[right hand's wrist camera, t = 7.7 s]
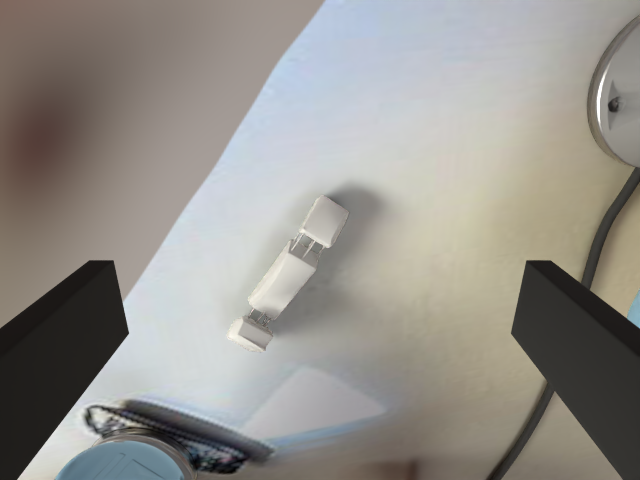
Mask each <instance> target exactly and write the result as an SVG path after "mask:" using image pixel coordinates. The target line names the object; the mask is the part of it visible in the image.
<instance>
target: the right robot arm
mask: <svg viewBox="0 0 640 480" xmlns="http://www.w3.org/2000/svg"><path fill="white" fill-rule="evenodd" d="M587 115H588V122H589V126H590V130H591V132H592V135H593V137H594V139H595V141H596V142H597V144H598V145H599V147H600V148H601V149H602V150H603V151H604V152H605V153H606V154H607V155H608V156H610V157H611V158H613V159H614V160H616V161H618V162H620V163H623V164H625V165H629V166H633V167H636V168H635V169H634V171H633V172H632V174H631V176H630V177H629V179H628V181H627V182H626V184H625V185H624V187H623V189H622V190H621V192H620V193H619V195H618V196H617V198H616V199H615V201H614V202H613V203H612V205H611V206H610V208H609V209H608V211H607V212H606V214H605V216H604V218H603V220H602V222H601V224H600V226H599V228H598V231H597V233H596V236H595V238H594V241H593V244H592V247H591V250H590V254H589V257H588V261H587V264H586V268H585V272H584V275H583V279H582V282H581V283H580V282H578V281H577V280H576V279H574V278H573V277H572V276H570V275H569V274H568V273H566V272H565V271H564V270H562V269H561V268H560V267H559V266H557V265H556V264H555V263H553V262H552V261H551V260H527V261H526V265H525V270H524V275H523V279H522V284H521V289H520V293H519V298H518V303H517V308H516V312H515V317H514V322H513V326H512V331H511V334H512V335H513V337H514V338H515V339H516V341H517V342H518V343H519V345H520V346H521V347H522V349H523V350H524V351H525V352H526V354H527V355H528V356H529V358H530V359H531V360H532V362H533V363H534V364H535V365H536V367H537V368H538V369H539V371H540V372H541V373H542V375H543V376H544V377H545V379H546V380H547V381H548V384H547V387H546V389H545V391H544V393H543V395H542V397H541V400H540V402H539V404H538V406H537V408H536V410H535V412H534V414H533V415H532V417H531V419H530V421H529V423H528V424H527V426H526V428H525V430H524V431H523V433H522V435H521V436H520V438H519V440H518V441H517V443H516V444H515V446H514V447H513V449H512V451H511V452H510V454H509V455H508V456H507V458H506V459H505V461H504V462H503V464H502V465H501V466H500V468H499V469H498V470H497V472H496V473H495V474H494V476H493V477H492V479H491V480H501V479H502V477H503V476H504V475H505V473H506V472H507V471H508V469H509V468H510V466H511V465H512V464H513V462H514V461H515V459H516V458H517V457H518V455H519V454H520V452H521V451H522V449H523V447H524V446H525V444H526V443H527V441H528V439H529V438H530V436H531V435H532V433H533V431H534V430H535V428H536V426H537V424H538V423H539V421H540V419H541V417H542V415H543V413H544V411H545V409H546V407H547V405H548V403H549V401H550V399H551V397H552V395H553V393H554V391H555V392H556V393H557V394H558V395H559V397H560V398H561V399H562V401H563V402H564V403H565V405H566V406H567V407H568V408H569V410H570V411H571V412H572V414H573V415H574V416H575V418H576V419H577V420H578V422H579V423H580V424H581V425H582V427H583V428H584V429H585V431H586V432H587V433H588V435H589V436H590V437H591V438H592V440H593V441H594V442H595V444H596V445H597V446H598V448H599V449H600V450H601V452H602V453H603V454H604V455H605V457H606V458H607V459H608V461H609V462H610V463H611V465H612V466H613V467H614V468H615V470H616V471H617V472H618V474H619V475H620V476H621V478H622V479H623V480H640V289H639V291H638V293H637V295H636V297H635V299H634V301H633V303H632V305H631V307H630V309H629V311H628V316H627V318H625V317H624V316H623V315H621V314H620V313H619V312H618V311H616V310H615V309H614V308H612V307H611V306H610V305H608V304H607V303H606V302H604V301H603V300H602V299H600V298H599V297H598V296H597V295H595V294H594V293H593V292H591V291H590V287H591V284H592V281H593V277H594V274H595V271H596V267H597V264H598V260H599V257H600V253H601V250H602V247H603V244H604V242H605V239H606V237H607V234H608V232H609V230H610V227H611V225H612V223H613V221H614V219H615V218H616V216H617V215H618V213H619V212H620V210H621V209H622V207H623V206H624V205H625V203H626V202H627V200H628V199H629V198H630V196H631V195H632V193H633V191H634V190H635V188H636V187H637V185H638V184H639V182H640V15H639V16H637V17H636V18H635V19H633V20H632V21H631V22H630V23H629V24H628V25H627V26H626V27H625V28H624V29H623V30H622V31H620V33H619V34H618V35H617V36H616V37H615V38H614V40H613V41H612V42H611V44H610V45H609V46H608V48H607V49H606V51H605V52H604V54H603V56H602V57H601V59H600V61H599V63H598V65H597V67H596V70H595V72H594V75H593V77H592V80H591V84H590V88H589V93H588V101H587ZM128 334H129V331H128V326H127V322H126V317H125V312H124V308H123V303H122V298H121V293H120V289H119V284H118V280H117V275H116V270H115V265H114V261H113V260H90V261H88V262H87V263H85V264H84V265H83V266H82V267H80V268H79V269H78V270H76V271H75V272H74V273H72V274H71V275H70V276H68V277H67V278H66V279H64V280H63V281H62V282H61V283H59V284H58V285H57V286H55V287H54V288H53V289H51V290H50V291H49V292H47V293H46V294H45V295H43V296H42V297H41V298H40V299H38V300H37V301H36V302H34V303H33V304H32V305H30V306H29V307H28V308H26V309H25V310H24V311H22V312H21V313H20V314H19V315H17V316H16V317H15V318H13V319H12V320H11V321H9V322H8V323H7V324H5V325H4V326H3V327H1V328H0V480H17V479H18V478H19V476H20V475H21V474H22V472H23V471H24V470H25V468H26V467H27V466H28V465H29V463H30V462H31V461H32V459H33V458H34V457H35V455H36V454H37V453H38V452H39V450H40V449H41V448H42V446H43V445H44V444H45V442H46V441H47V440H48V438H49V437H50V436H51V435H52V433H53V432H54V431H55V429H56V428H57V427H58V425H59V424H60V423H61V422H62V420H63V419H64V418H65V416H66V415H67V414H68V412H69V411H70V410H71V408H72V407H73V406H74V405H75V403H76V402H77V401H78V399H79V398H80V397H81V395H82V394H83V393H84V392H85V390H86V389H87V388H88V386H89V385H90V384H91V382H92V381H93V380H94V379H95V377H96V376H97V375H98V373H99V372H100V371H101V369H102V368H103V367H104V365H105V364H106V363H107V362H108V360H109V359H110V358H111V356H112V355H113V354H114V352H115V351H116V350H117V349H118V347H119V346H120V345H121V343H122V342H123V341H124V339H125V338H126V337H127V335H128Z"/></svg>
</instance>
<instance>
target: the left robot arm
mask: <svg viewBox="0 0 640 480" xmlns="http://www.w3.org/2000/svg"><path fill="white" fill-rule="evenodd" d="M196 477H197V470H196V465H195V462H194V460H193V458H192V456H191V455H190V454H189V452H188V451H187V450H186V449H185V448H184V447H183V446H182V445H181V444H179V443H178V442H177V441H175V440H173V439H172V438H170V437H168V436H166V435H164V434H161V433H158V432H155V431H151V430H146V429H121V430H117V431H113V432H110V433H108V434H106V435H104V436H102V437H101V438H99V439H98V440H97V441H96V442H95V443H94V444H93V446H92V447H91V448H89V449H87V450H85V451H83V452H82V453H80V454H78V455H77V456H76V457H74V458H73V459H72V460H71V461H69V462H68V463H67V464H66V465H65V466H64V468H63V469H62V470H61V471H60V472H59V474H58V475H57V477H56V478H55V480H196Z"/></svg>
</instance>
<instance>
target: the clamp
mask: <svg viewBox="0 0 640 480" xmlns="http://www.w3.org/2000/svg"><path fill="white" fill-rule="evenodd" d="M348 216H349V211H347V210H346V209H344V208H343V207H341V206H340V205H338V204H336V203H335V202H333V201H332V200H330V199H329V198H327V197H326V196H323V195H321V196H320V197H319V198H318V199H316V200H315V202H314V204H313V206H312V207H311V209H310V211H309V213H308V214H307V216H306V218H305V220H304V221H303V223H302V225H301V227H300V228H299V230H298V234H297V235H296V237H295V239H294V240H290V241H289V242H288V243H287V245H286V246H285V248H284V249H283V250H282V252H281V253H280V255H279V256H278V257H277V259H276V260H275V261H274V263H273V264H272V266H271V267H270V268H269V270H268V271H267V273H266V274H265V275H264V277H263V278H262V279H261V281H260V282H259V284H258V285H257V286H256V288H255V289H254V290H253V292H252V293H251V295H250V296H249V297H248V302H249V303H250V305H251V307H253V309H252V310H251V312H250V314H249V316H248V317H247V316H245V315H244V316H242V317H240V318H238V319H236V320H234V321H233V323H232V325H231V327H230V329H229V330H228V332H227V338H228V339H230V340H231V341H233V342H235V343H237V344H238V345H240V346H242V347H243V348H245V349H247V350H249V351H256V352H263V351H265V350H266V346H267V345H268V343H269V342H270V340H271V339H272V337H273V335H272V331H270V330H268V327H266V325H267V324H268V323H269V322H270V321H271V319H272V320H275V319H276V318H277V317H278V316H279V315H280V314H281V313H282V311H283V310H284V309H285V308H286V307H287V305H288V304H289V303H290V302H291V300H292V299H293V298H294V297H295V295H296V294H297V293H298V292H299V290H300V289H301V288H302V287H303V286H304V284H305V283H306V282H307V281H308V280H309V278H310V277H311V276H312V275H313V274H314V272H315V271H316V269H317V265H318V260H319V257H320V255H321V252H322V251H323V249H324V248H325V247H326V248H329V247H332V245H333V244H334V242H335V241H336V239H337V238H338V236H339V234H340V232H341V230H342V228H343V227H344V224H345V222H346V220H347V218H348ZM300 233H301V236H300V237H299V239H298V241H296V239H297V237H298V235H299V234H300ZM303 235H306V236H307V237H309V238H311V239H313V240H312V241H311V243H310V244H309V246H308V247H305V246H304V245H302V244H300V243H299V241H300V239H301V238H302V236H303ZM315 242H318V243H320V244H321V245H323V247H322V249H321V250H320V251H319V253H318V254H317V253H315V252H314V251H312V250H311V248H312V246H313V245H314V243H315ZM254 309H256V310H258V311H259V312H261V313H262V315H261V316H260V317H259V318H258V320H257V321H255V320H253V319H251V318H249V317H250V316H251V314H252V312H253V310H254ZM263 315H266V318H265V319H264V321H263V324H260V323H258V321H259V320H260V319H261V317H262V316H263ZM268 317H269V318H270V319H269V320H268V321H267V322H266V323H265V321H266V319H267V318H268ZM264 323H265V325H264Z"/></svg>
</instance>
